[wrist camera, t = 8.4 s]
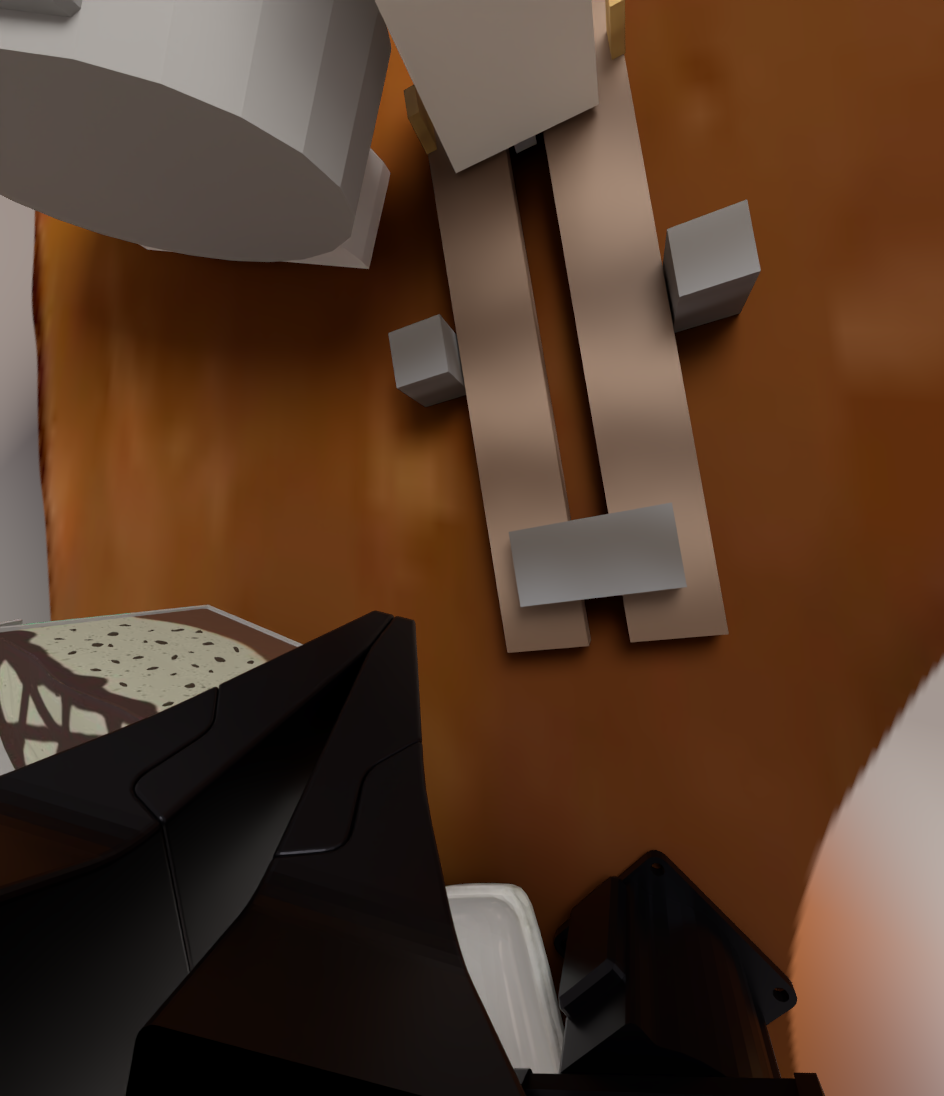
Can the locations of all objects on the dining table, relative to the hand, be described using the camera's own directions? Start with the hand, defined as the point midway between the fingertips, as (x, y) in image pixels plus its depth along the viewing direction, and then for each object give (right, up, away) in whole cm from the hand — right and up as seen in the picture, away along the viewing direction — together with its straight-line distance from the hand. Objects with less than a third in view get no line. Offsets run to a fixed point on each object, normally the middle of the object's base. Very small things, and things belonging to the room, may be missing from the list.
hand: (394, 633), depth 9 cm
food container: (-11, -6, +16) cm, 20 cm away
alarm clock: (-11, +20, +16) cm, 28 cm away
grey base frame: (+5, +11, +10) cm, 16 cm away
